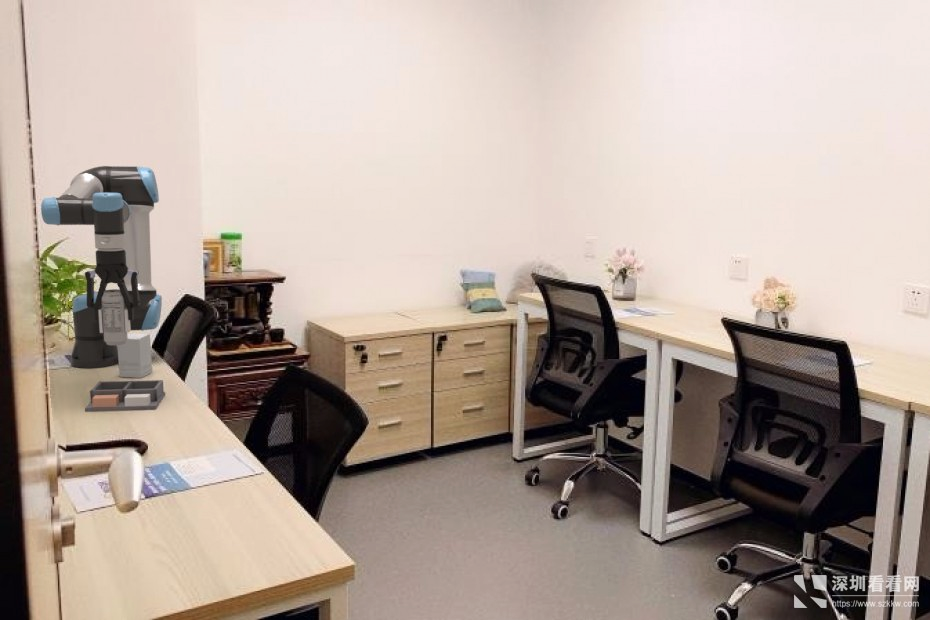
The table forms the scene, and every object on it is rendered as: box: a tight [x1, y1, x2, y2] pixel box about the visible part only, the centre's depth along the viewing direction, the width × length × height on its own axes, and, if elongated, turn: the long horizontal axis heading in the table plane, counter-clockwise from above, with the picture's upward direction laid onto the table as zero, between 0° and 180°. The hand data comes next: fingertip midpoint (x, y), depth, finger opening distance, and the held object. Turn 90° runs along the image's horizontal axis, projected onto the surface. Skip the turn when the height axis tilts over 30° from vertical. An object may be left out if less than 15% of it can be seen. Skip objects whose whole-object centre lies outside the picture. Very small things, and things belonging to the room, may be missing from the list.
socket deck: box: [84, 379, 166, 412], centre depth 214 cm, size 13×18×4 cm
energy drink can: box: [102, 288, 128, 345], centre depth 214 cm, size 6×6×15 cm
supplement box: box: [117, 332, 153, 379], centre depth 241 cm, size 7×7×13 cm
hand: (115, 331), depth 215 cm, fingers closed on energy drink can, 6 cm apart
